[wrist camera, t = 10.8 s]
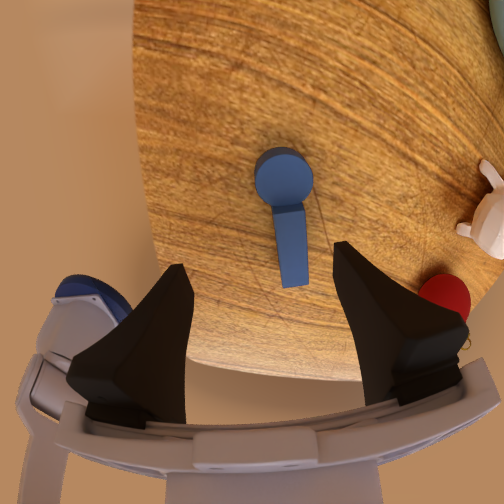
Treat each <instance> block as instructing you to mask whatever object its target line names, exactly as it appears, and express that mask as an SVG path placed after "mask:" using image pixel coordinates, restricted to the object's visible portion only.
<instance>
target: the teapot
mask: <svg viewBox="0 0 504 504" xmlns="http://www.w3.org/2000/svg"><path fill="white" fill-rule="evenodd" d="M489 9H490V16H491V21H492V25H493V30H494V33H495V35H496V38H497V41H498V44H499V46H500V49H501V51H502V54H503V56H504V0H489Z"/></svg>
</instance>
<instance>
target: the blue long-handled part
mask: <svg viewBox="0 0 504 504" xmlns="http://www.w3.org/2000/svg"><path fill="white" fill-rule="evenodd" d="M254 176H255V186H256V190H257V193H258V194H259V196H260V197H261V198H262V199H263V200H264V201H265V202H266V203H268V204H269V205H271V208H272V215H273V222H274V229H275V236H276V244H277V251H278V259H279V267H280V273H281V280H282V286H283V288H289V287H296V286H302V285H308V284H309V274H308V250H307V231H306V215H305V209H304V206H303V204H302V201H304V200H305V199H306V198H307V196H308V195H309V193H310V192H311V189H312V186H313V174H312V171H311V168H310V167H309V165H308V164H307V162H306V161H305V159H304V158H303V157H302V155H301V154H300V153H298V152H297V151H295V150H293V149H291V148H287V147H277V148H273V149H270V150H268V151H266V152H265V153H264V154H263V155H261V157H260V158H259V159H258V161H257V163H256V165H255V170H254Z"/></svg>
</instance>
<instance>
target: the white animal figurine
mask: <svg viewBox="0 0 504 504" xmlns="http://www.w3.org/2000/svg"><path fill="white" fill-rule="evenodd" d="M479 168H480V172H481V173H482V174H483V175H485V176H486V177H487V178H488V180H489V181H490V183H491V185H492V187H493V188H494V190H493V192H492V193H491V194H486V195H485V196H484V198H483V200H482V201H481V202H480V204H479V205H478V207H477V209H476V210H475V213H474V218H473V222H472V224H470V223H467V222H462V223H458V224H457V228H456V233H457V234H458V235H461V236H465V237H469V238H473V240H474V241H475V242H476V244H477V245H478V246H479V247H480V248H481V249H482V250H483V251H485V252H486V253H487V254H489V255H490V256H492V257H495V258H497V259H504V181H503V180H502V178H501V177H500V175H499V174H498V172H497V171H496V169H495V168H494V167H493V166H492V165H491V164H490V163H489V162H488V161H486V160H485V159H482V160H481V163H480V165H479Z"/></svg>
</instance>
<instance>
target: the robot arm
mask: <svg viewBox="0 0 504 504" xmlns="http://www.w3.org/2000/svg"><path fill="white" fill-rule="evenodd" d="M333 279H334V283H335V287H336V291H337V294H338V297H339V300H340V302H341V305H342V307H343V310H344V313H345V315H346V318H347V320H348V323H349V326H350V328H351V331H352V334H353V338H354V342H355V346H356V350H357V355H358V360H359V365H360V370H361V376H362V382H363V389H364V397H365V405H366V406H365V407H361V408H357V409H353V410H349V411H344V412H339V413H334V414H329V415H324V416H317V417H311V418H304V419H297V420H289V421H280V422H270V423H258V424H237V425H193V424H186V413H185V357H186V350H187V344H188V339H189V333H190V328H191V323H192V317H193V311H194V291H193V289H192V286H191V284H190V281H189V279H188V276H187V274H186V271H185V269H184V266H183V263H181V264H173V265H170V266H169V268H168V269H167V270H166V271H165V272H164V274H163V275H162V276H161V278H160V279H159V280H158V281H157V283H156V284H155V285H154V286H153V288H152V289H151V290H150V292H149V293H148V294H147V295H146V296H145V298H143V300H142V301H141V302H140V303H139V304H138V305H137V307H136V308H135V309H134V310H133V311H132V312H131V313H130V314H129V315H128V316H127V317H126V318H125V319H124V320H123V321H122V322H121V323H119V322H118V321H117V319H116V318H115V316H114V315H113V314H112V312H111V311H110V309H109V308H108V306H107V305H106V303H105V302H104V300H103V299H102V297H101V296H100V295H99V294H89V295H78V296H66V297H55V298H52V299H51V302H52V303H53V305H54V306H53V307H52V309H51V311H50V313H49V315H48V317H47V319H46V321H45V322H44V324H43V326H42V328H41V330H40V332H39V334H38V337H37V341H36V350H37V354H34V355H33V357H32V358H31V360H30V362H29V364H28V366H27V368H26V370H25V373H24V375H23V378H22V380H21V383H20V386H19V390H18V395H17V398H16V401H15V404H16V411H17V413H18V415H19V417H20V419H21V420H22V422H23V424H24V425H25V427H26V428H27V430H28V432H29V434H30V437H29V440H28V445H27V449H26V453H25V458H24V462H23V468H22V473H21V479H20V485H19V493H18V502H17V504H60V498H61V491H62V485H63V479H64V473H65V468H66V463H67V458H68V453H70V452H72V453H74V454H77V455H78V456H81V457H83V458H85V459H88V460H91V461H94V462H97V463H100V464H103V465H107V466H110V467H113V468H117V469H120V470H124V471H128V472H132V473H136V474H141V475H145V476H149V477H154V478H159V479H165V480H167V481H166V498H165V504H383V498H382V491H381V485H380V479H379V473H378V467H377V466H379V465H382V464H385V463H387V462H391V461H394V460H396V459H399V458H402V457H404V456H407V455H410V454H412V453H414V452H417V451H419V450H422V449H424V448H426V447H428V446H431V445H433V444H435V443H437V442H439V441H441V440H443V439H445V438H447V437H449V436H451V435H453V434H455V433H457V432H459V431H461V430H463V429H465V428H466V427H468V426H470V425H472V424H473V423H475V422H476V421H478V420H479V419H481V418H482V417H483V416H484V415H486V414H487V413H489V412H490V411H491V410H492V409H494V408H495V407H496V406H497V405H498V404H500V403H501V399H500V396H499V393H498V391H497V388H496V386H495V383H494V381H493V379H492V377H491V375H490V372H489V370H488V367H487V365H486V363H485V361H484V359H483V358H479V359H477V360H475V361H473V362H471V363H469V364H467V365H465V366H463V367H462V368H460V369H459V367H458V365H457V364H458V363H459V358H458V356H457V353H458V352H459V350H460V349H461V347H462V346H463V344H464V343H465V341H466V340H467V338H468V335H469V329H468V327H467V325H466V323H465V321H464V320H463V318H462V316H461V315H460V313H459V312H456V311H453V310H450V309H448V308H445V307H442V306H439V305H437V304H435V303H433V302H430V301H428V300H426V299H424V298H422V297H420V296H418V295H417V294H415V293H413V292H411V291H409V290H408V289H406V288H404V287H403V286H401V285H400V284H398V283H397V282H395V281H394V280H392V279H391V278H389V277H388V276H387V275H385V274H384V273H383V272H382V271H380V270H379V269H378V268H377V267H375V266H374V265H373V264H372V263H371V262H369V261H368V260H367V259H366V258H365V257H364V256H363V255H361V254H360V253H359V252H358V251H357V250H356V249H355V248H354V247H352V246H351V245H350V244H349V243H348V242H347V241H342V242H335V243H334V255H333ZM32 406H34V407H35V408H37V409H39V410H40V411H42V412H44V413H46V414H47V415H49V416H51V417H53V418H54V419H56V420H58V421H59V424H57V423H55V422H53V421H52V420H50V419H48V418H46V417H45V416H43V415H41V414H39V413H38V412H37V411H36V410H35V409H34V408H33V407H32Z"/></svg>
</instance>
